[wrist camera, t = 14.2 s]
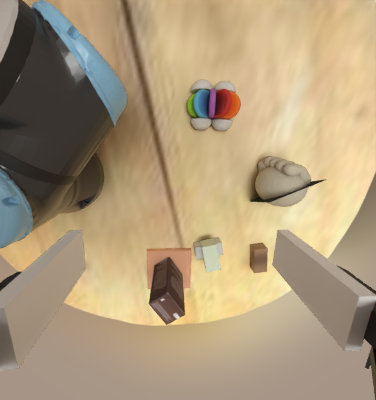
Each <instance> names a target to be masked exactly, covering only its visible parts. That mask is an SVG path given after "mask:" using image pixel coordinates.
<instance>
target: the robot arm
mask: <svg viewBox="0 0 376 400" xmlns="http://www.w3.org/2000/svg"><path fill="white" fill-rule="evenodd" d="M127 103H128V94H127V91H126V88H125V86H124V85H123V83H122V81H121V80H120V78H119V77H118V76H117V74H116V73H115V71H114V70H113V69H112V68H111V66H110V65H109V64H108V63H107V61H106V60H105V59H104V58H103V57H102V56H101V54H100V53H99V52H98V51H97V50H96V49H95V47H94V46H93V45H92V44H91V43H90V42H89V41H88V40H87V39H86V38H85V37H84V36H83V35H81V34H80V33H79V31H78V30H77V29H76V28H75V27H74V26H73V25H72V23H71V22H70V21H69V20H68V19H67V18H66V17H65V16H64V15H63V14H62V13H61V12H60V11H59V10H58V9H56V8H55V7H54V6H53V5H51V4H50V3H48V2H47V1H44V0H39V1H38V2H34V3H33V4H32V8H30V7H29V6H28V5H27V4H26V3H25V2H24V1H23V0H0V248H3V247H6V246H8V245H10V244H12V243H14V242H16V241H19V240H21V239H23V238H25V237H26V236H27V235H28V234H29V233H30V232H32V231H33V230H35V229H36V228H38V227H39V226H41V225H43V224H44V223H46V222H47V221H49V220H50V219H52V218H53V217H55V216H56V215H58V214H59V213H71V212H76V211H79V210H81V209H83V208H85V207H87V206H88V205H89V204H91V203H92V202H93V201H94V200H95V199H96V198H97V197H98V195H99V194H100V192H101V190H102V187H103V182H104V173H103V168H102V165H101V162H100V160H99V158H98V157H97V155H96V154H95V151H96V150H97V149H98V147H99V146H100V144H101V143H102V141H103V140H104V139H105V137H106V136H107V134H108V133H109V131H110V130H111V129H112V128H115V126H116V124H117V120H118V118H119V117H120V115H121V114H122V112H123V111H124V109H125V107H126V106H127ZM272 265H273V266H274V268H275V269H276V270H277V271H278V272H279V274H280V275H281V276H282V277H283V278H284V280H285V281H286V282H287V283H288V284H289V286H290V287H291V288H292V289H293V290H294V292H295V293H296V294H297V295H298V296H299V297H300V299H301V300H302V301H303V302H304V303H305V305H306V306H307V307H308V308H309V309H310V311H311V312H312V313H313V314H314V316H315V317H316V318H317V319H318V320H319V321H320V322H321V324H322V325H323V326H324V327H325V329H326V330H327V331H328V332H329V333H330V335H331V336H332V337H333V338H334V339H335V341H336V342H337V343H338V344H339V346H340V347H341V348H342V349H343V350H344V351H352V350H361V347H362V344H363V340H364V339H365V340H366V341H367V342H368V343H369V344H370V345H371V346H372V347H371V350H370V353H369V357H368V359H367V363H366V366H365V368H367V369H369V366H370V365H371V368H372V376H373V385H374V393H375V400H376V291H375V290H373V289H372V288H371V287H369V286H368V285H366V284H365V283H363V282H362V281H361V280H360V279H358V278H356V277H355V276H354V275H353V274H351V273H350V272H349V271H347V270H345V269H343V268H341V267H339V266H337V265H335V264H333V263H332V262H331V261H329V260H328V259H327V258H325V257H324V256H323V255H321V254H320V253H319V252H317V251H316V250H315V249H313V248H312V247H311V246H309V245H308V244H307V243H305V242H304V241H302V240H301V239H300V238H298V237H297V236H296V235H294V234H293V233H292V232H290V231H289V230H278V231H277V238H276V244H275V251H274V258H273V264H272ZM85 269H86V263H85V254H84V245H83V235H82V231H69V232H67V233H66V234H65V235H64V236H63V237H62V238H61V239H59V240H58V241H57V242H56V243H55V244H54V245H53V246H51V247H50V248H49V249H48V250H47V251H46V252H45V253H43V254H42V255H41V256H40V257H39V258H38V259H37V260H35V261H34V262H33V263H32V264H31V265H30V266H29V267H27V268H26V269H25V270H24V271H23V272H17V273H15V274H13V275H11V276H9V277H7V278H6V279H5V280H3V281H2V282H1V283H0V370H10V369H19V368H20V366H21V365H22V363H23V362H24V360H25V359H26V357H27V356H28V354H29V353H30V351H31V350H32V348H33V347H34V345H35V344H36V342H37V341H38V339H39V338H40V336H41V335H42V333H43V332H44V330H45V329H46V327H47V326H48V324H49V323H50V321H51V320H52V318H53V317H54V315H55V314H56V312H57V311H58V309H59V308H60V306H61V305H62V303H63V302H64V300H65V299H66V297H67V296H68V294H69V293H70V291H71V290H72V288H73V287H74V286H75V284H76V283H77V281H78V280H79V278H80V277H81V275H82V274H83V272H84V271H85Z"/></svg>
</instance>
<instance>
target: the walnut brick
mask: <svg viewBox="0 0 376 400" xmlns="http://www.w3.org/2000/svg"><path fill="white" fill-rule="evenodd" d="M267 250H268V249H267V247H266V246H265V245H264V244H263V243H257V244H250V267H251V269H252V270H253V272H254V273H259V272H267Z"/></svg>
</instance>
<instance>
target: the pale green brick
mask: <svg viewBox="0 0 376 400" xmlns="http://www.w3.org/2000/svg"><path fill="white" fill-rule="evenodd" d="M200 243H201V248H202V254H203V259H204V264H205V268H206V271H207V272H211V271H216V270H221V269H220V263H219V257H218V252H217V246H216V243H215V240H214V238H212V239H207V240H202V241H200Z"/></svg>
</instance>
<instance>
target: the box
mask: <svg viewBox="0 0 376 400" xmlns="http://www.w3.org/2000/svg"><path fill="white" fill-rule="evenodd" d="M149 305H150V306H151V307H152V308H153V310H154V311H155V312H156V313H157V314H158V315H159V316H160V318H161V319H162V320H163V321H164V322H165V323H166V325H167V324H169V323H171V322H173V321H175V320H176V319H178V318H180V317H182V316H184V315H185V308H184V292H183V277H182V273H181V272H180V270H179V269H178V268H177V266H176V265H175V264H174V262H173V261H172V260H171V258H170V257H168V258H166V259H164V260H162V261H161V262H159V263H157V264H156V265H154V272H153V279H152V286H151V293H150V300H149Z"/></svg>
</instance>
